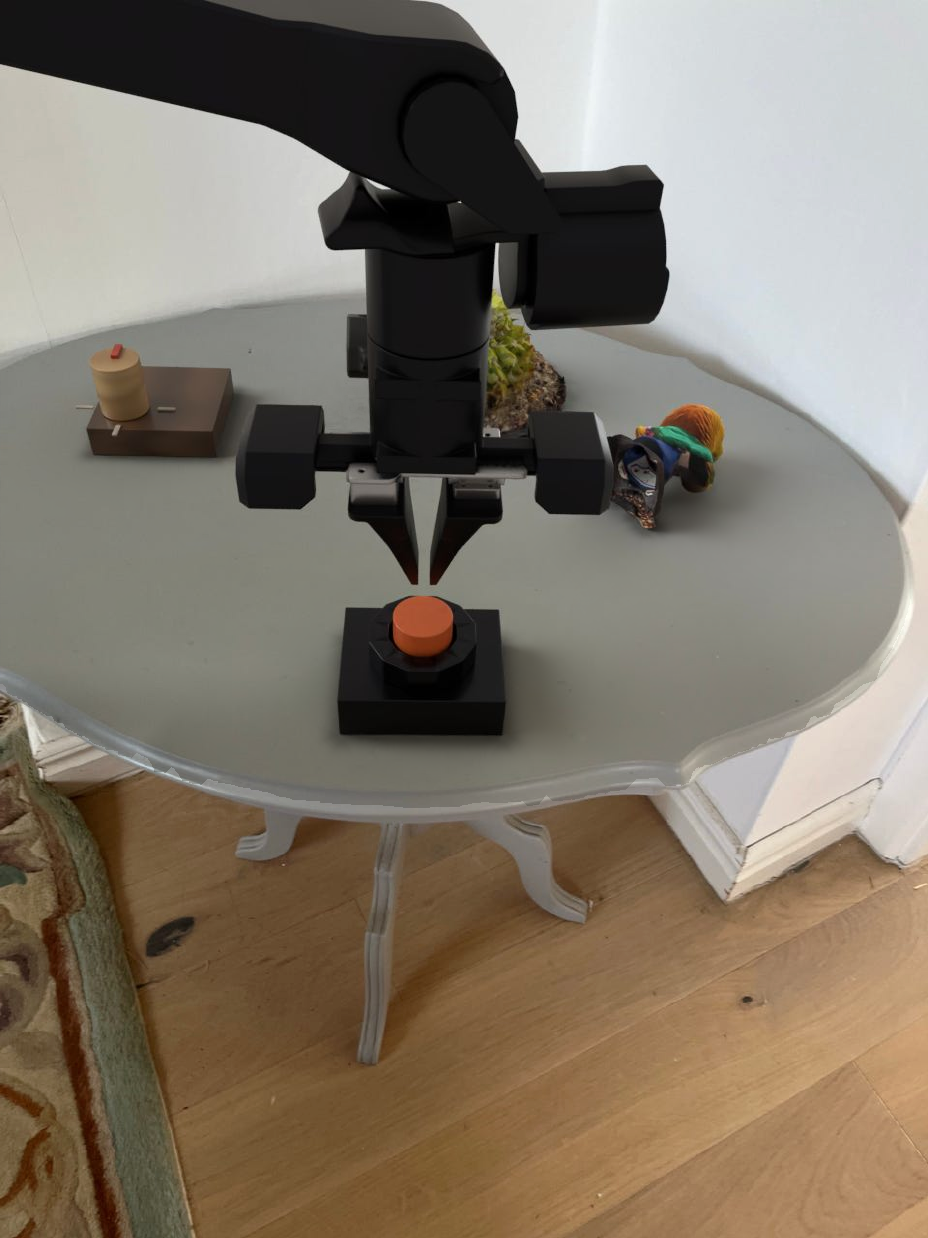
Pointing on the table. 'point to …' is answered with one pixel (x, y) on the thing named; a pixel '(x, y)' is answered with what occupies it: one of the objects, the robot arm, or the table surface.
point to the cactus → (516, 376)
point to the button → (422, 626)
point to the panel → (169, 415)
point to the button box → (421, 677)
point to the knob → (119, 383)
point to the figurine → (665, 459)
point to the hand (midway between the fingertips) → (423, 580)
